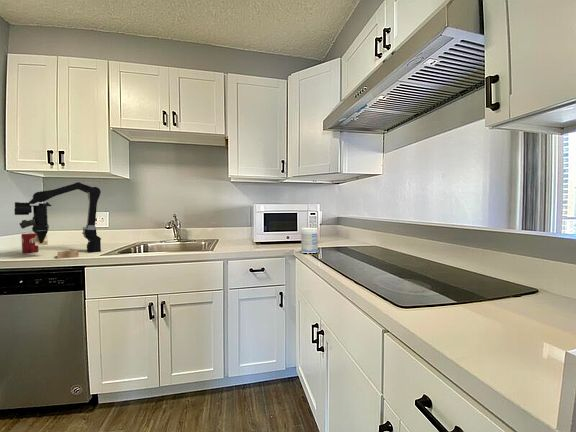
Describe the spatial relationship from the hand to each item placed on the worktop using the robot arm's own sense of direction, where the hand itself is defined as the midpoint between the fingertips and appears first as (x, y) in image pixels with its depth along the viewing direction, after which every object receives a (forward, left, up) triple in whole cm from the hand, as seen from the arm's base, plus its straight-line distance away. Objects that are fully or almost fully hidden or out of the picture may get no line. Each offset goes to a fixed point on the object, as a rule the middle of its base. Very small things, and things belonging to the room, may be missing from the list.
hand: (41, 242), depth 154 cm
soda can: (+6, -20, -8) cm, 22 cm away
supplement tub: (-120, +89, -8) cm, 150 cm away
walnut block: (-11, +9, -8) cm, 17 cm away
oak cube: (0, 0, -1) cm, 1 cm away
